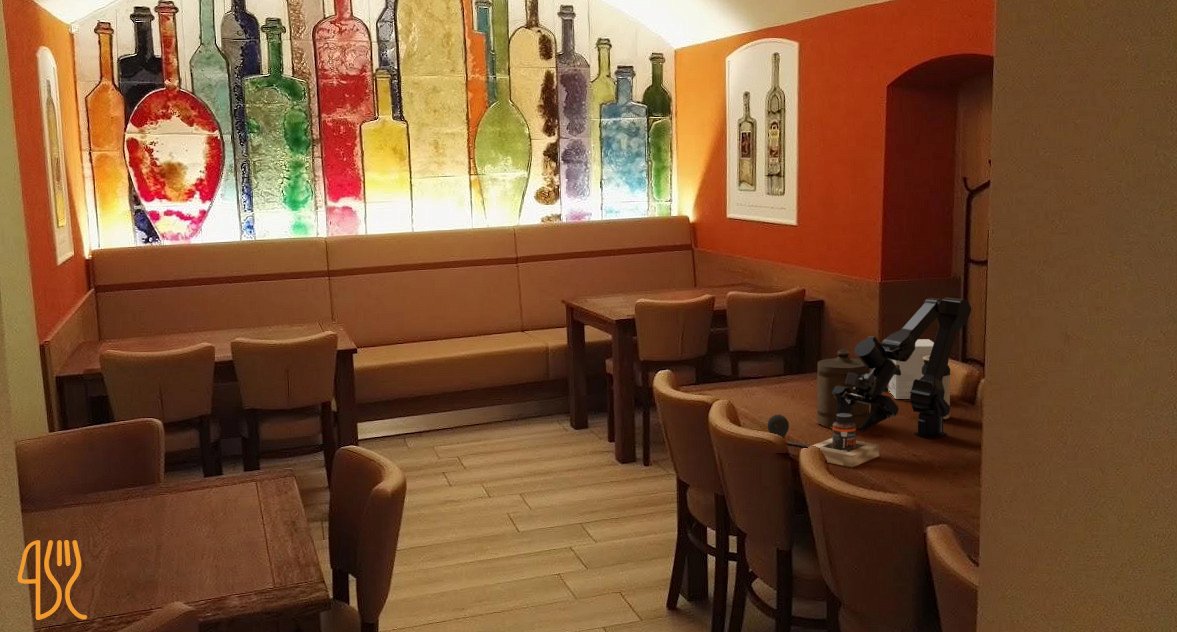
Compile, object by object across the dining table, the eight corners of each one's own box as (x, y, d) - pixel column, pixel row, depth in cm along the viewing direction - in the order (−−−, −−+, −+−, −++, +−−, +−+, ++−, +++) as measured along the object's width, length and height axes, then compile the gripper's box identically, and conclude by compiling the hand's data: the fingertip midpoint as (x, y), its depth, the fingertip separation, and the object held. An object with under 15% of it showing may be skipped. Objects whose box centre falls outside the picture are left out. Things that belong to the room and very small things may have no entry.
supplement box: (929, 391, 337) (929, 338, 335) (938, 400, 324) (939, 345, 322) (887, 391, 339) (888, 339, 336) (895, 400, 326) (895, 346, 323)
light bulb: (765, 449, 276) (765, 413, 275) (785, 447, 277) (785, 411, 275) (770, 454, 271) (770, 418, 269) (791, 453, 271) (791, 416, 270)
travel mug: (951, 420, 299) (952, 360, 296) (922, 420, 300) (923, 360, 298) (947, 414, 306) (948, 355, 304) (919, 414, 308) (920, 355, 305)
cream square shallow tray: (835, 447, 275) (835, 436, 275) (878, 456, 266) (879, 444, 266) (807, 458, 266) (807, 447, 266) (851, 467, 257) (851, 455, 257)
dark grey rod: (824, 450, 273) (824, 447, 273) (823, 451, 272) (823, 448, 272) (783, 443, 281) (783, 440, 281) (782, 444, 280) (782, 441, 280)
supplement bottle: (849, 461, 262) (849, 418, 261) (828, 458, 266) (828, 415, 264) (859, 456, 267) (859, 413, 265) (838, 452, 271) (838, 410, 269)
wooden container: (851, 415, 310) (851, 343, 306) (879, 426, 296) (879, 351, 292) (807, 420, 305) (807, 347, 302) (834, 432, 291) (834, 356, 288)
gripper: (836, 355, 274) (806, 402, 270) (890, 366, 259) (860, 416, 255) (857, 380, 280) (828, 426, 276) (912, 391, 264) (882, 440, 260)
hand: (848, 426), depth 266 cm, fingers open, 9 cm apart
